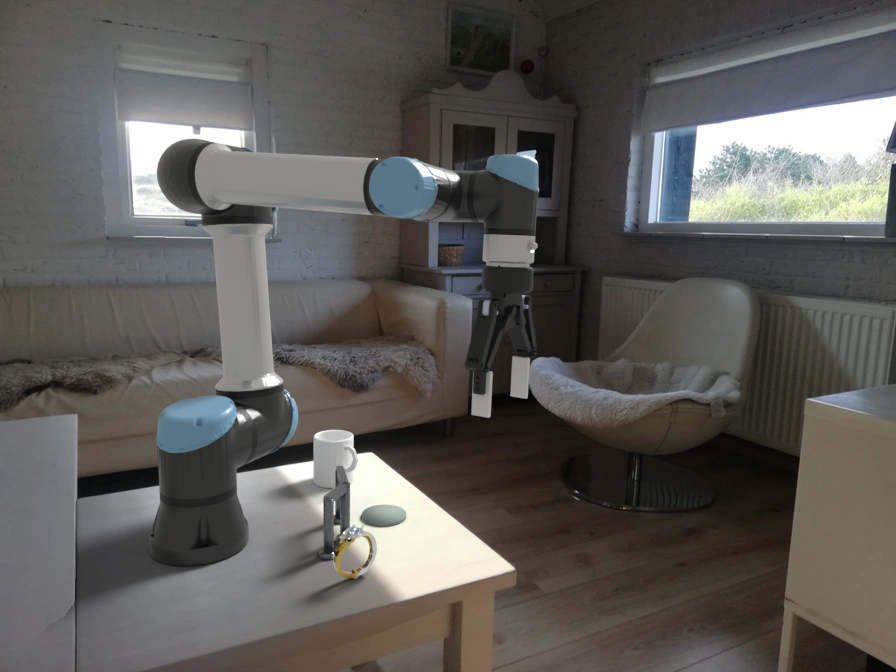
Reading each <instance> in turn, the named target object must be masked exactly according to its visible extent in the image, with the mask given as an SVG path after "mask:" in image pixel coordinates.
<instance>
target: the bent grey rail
mask: <svg viewBox="0 0 896 672" xmlns="http://www.w3.org/2000/svg"><path fill="white" fill-rule="evenodd" d="M322 503H323V507H322V509H323V510H322V511H323V513H322V514H323V515H322V516H323V517H322V518H323V520H322V521H323V525H322V527H323V534H322V535H323V543H322V544H323V546H322V547H323V548H321V549H320V550H318V558H320V559H321V560H324V559H325V560H326V561H329V560H333V552H334V548H335V545H334V544H336V543H337V541H338V539H339V537H340V536H341V534H342V533H343V532H344V531H345V530H346V529H348V528H349V527H350V526H351V484H350V483H349V482H348V479H347V476H346V473H345V470H344V467H343V466H336V470H335V488H332V489H331V490H330V491H328V492H327V493H325V494H324V495H323V502H322ZM334 525H339V534H338V535H336V536H335V535H334V533H335V531H334V528H335V527H334ZM334 538H335V540H334ZM348 539H350V537H349V538H347V539H346V538H345V539H344V541H343V543H344V542H346V541H347V540H348ZM334 541H335V543H334ZM343 543H342V544H343ZM327 559H328V560H327Z"/></svg>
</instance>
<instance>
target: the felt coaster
mask: <svg viewBox="0 0 896 672" xmlns="http://www.w3.org/2000/svg"><path fill="white" fill-rule="evenodd" d="M361 518H362V521H364V523H366V524H369V525H371V526H376V527H391V526H396V525H399V524H401V523H403V522H404V521H405V520H406V519H407V511H406V510H405V509H404V508H403V507H401V506H397V505H394V504H393V505H392V504H377V505H372V506H369V507H366V508H365V509H363V511H362V512H361Z"/></svg>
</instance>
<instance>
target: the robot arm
mask: <svg viewBox="0 0 896 672" xmlns="http://www.w3.org/2000/svg"><path fill="white" fill-rule="evenodd" d="M156 179H157V183H158V186H159V188H160V190H161V193H162V194H163V196H164V197H165V198H166V199H167V201H169V202H170V204H172V205H173V206H174V207H177V208H178V209H179V210H182V211H183V212H187V213H190V214H195V215H200V216H201V227H202V228H201V229H202V230H204V231H205V232H206V233H207V234H208V235H209V236H210V237H211V238H212V247H213V259H214V270H215V271H214V273H215V285H216V294H217V297H216V299H217V307H218V308H217V310H218V320H219V321H218V323H219V333H220V334H219V336H220V347H221V357H222V358H221V360H222V370H223V371H222V372H223V376H222V378H221V379H220V380H219V381H218V382H217V383H216V384H215V394H210V395H209V394H208V395H200V396H199V395H198V396H197V397H188V398H184V399H181V400H179V401H176V402H172V404H169V405H168V406H166V407H165V408H164V409H163V410H162V411H161V412H160V414H159V416H158V419H157V432H156V437H155V441H156V447H157V465H158V483H159V485H158V488H159V504H158V508H157V511H156V514H155V517H154V521H153V523H152V524H153V526H152V529H151V531H150V534H149V538H148V541H149V543H148V545H149V548H148V549H149V554H150V556H151V557H152V558H153V559H154V560H155V561H157V562H160V563H163V564H166V565H171V566H180V567H181V566H182V567H183V566H184V567H185V566H186V567H188V566H189V567H191V566H201V565H206V564H212V563H216V562H220V561H221V560H225V559H227V558H229V557H232V556H233V555H236V554H237V553H239V552H241V551H242V550H243V549H244V548H245V547H246V546H247V545H248V543H249V540H250V530H249V529H250V528H249V527H250V525H249V522H248V520H247V518H246V517H245V513H244V512H243V511H244V510H243V508H242V505H241V502H240V499H239V496H238V483H237V482H238V479H237V477H238V475H237V474H238V473H237V470H238V469H239V468H241V467H243V466H245V465H247V464H250V463H251V462H253V461H255V460H258V459H260V458H262V457H265V456H267V455H271V454H273V453H275V452H276V451H278V450H279V449H280V448H281V447H283V446H285V445H286V444H287V443H288V442H289V441H290V440H291V439H292V437H293V436H294V434H295V433H296V431H297V427H298V424H299V423H298V422H299V411H298V410H299V409H298V405H297V403H296V400H295V399H294V398H293V397H291V393H290V392H289V391H288V390H287V389H285V385H284V379H283V378H282V377H281V376H280V375H278V374H277V373H276V372H275V367H274V353H273V341H272V340H273V339H272V337H273V336H272V325H271V312H270V311H271V310H270V309H271V308H270V296H269V295H270V294H269V293H270V292H269V282H268V281H269V280H268V279H269V278H268V268H267V254H266V253H267V251H266V238H265V237H266V236H267V234H268V233H269V232H270V230H272V229H273V227H274V224H273V214H274V213H276V212H277V211H278V209H291V210H292V209H293V210H304V211H316V212H329V213H339V214H340V213H341V214H342V213H343V214H354V215H356V214H357V215H364V216H365V215H366V216H378V217H386V218H394V219H402V220H415V221H419V222H421V221H422V222H425V223H438V222H439V223H477V224H478V223H480V224H481V223H483V225H484V226H483V227H484V229H483V243H482V261H483V262H486V263H485V265H484V266H483V267H482V268H481V269H482V271H481V289H482V290H483V291H485V292H489V294H490V296H489V300H488V299H487V300H486V299H479V301H478V303H477V304H478V305H477V306H478V307H477V314H476V315H477V316H476V320H475V322H474V328H473V331H472V334H471V339H470V341H469V342H470V343H469V346H468V349H467V353H466V358H465V361H464V367H465V369H466V370H468V371H472V391H471V392H472V393H471V410H470V411H471V416H477V417H482V418H488V419H489V418H491V416H492V415H491V414H492V396H493V393H492V392H493V376H494V372H493V371H490V369H491V367H492V364H493V362H494V359H495V356H496V354H497V351H498V348H499V345H500V343H501V341H502V338H503V335H505V334H506V333H508V337H509V338H510V341H511V346H512V349H513V350H514V354H515V355H513V356H512V359H511V376H510V378H511V379H510V394H509V396H510V397H512V398H519V399H524V400H525V399H526V400H527V399H528V398H529V397H528V396H529V382H530V366H531V365H530V363H531V358H536V357H537V347H538V346H537V341H536V333H535V327H534V326H535V325H534V319H533V311H532V296H531V295H526V294H529V293H531V292H532V291H533V289H534V275H535V274H534V273H535V272H534V268H533V267H532V266H530V264H533V263H534V262H535V250H537V249H538V247H539V246H538V243H537V242H536V229H537V228H536V227H537V214H538V202H539V201H538V200H539V192H540V188H539V163H538V161H537V160H536V159H535V158H534V157H531V156H528V155H522V154H499V155H498V154H497V155H495V154H493V155H491V156H489V157H488V159H487V162H486V166H485V169H480V170H455V169H454V170H453V169H452V170H451V169H446V168H444V167H439V166H435V165H433V164H429V163H426V162H423V161H421V160H419V159H417V158H414V157H409V156H391V157H388V158H377V157H375V158H374V157H360V156H359V157H358V156H357V157H356V156H338V155H337V156H336V155H319V154H317V155H316V154H299V153H298V154H297V153H279V152H278V153H275V152H259V151H255V150H252V149H250V148H247V147H243V146H242V147H240V146H234V145H229V144H224V143H217V142H213V141H209V140H206V139H201V138H186V139H181V140H178V141H176V142H174V143H172V144H170V145H169V146H168V147H167V148H166V149H165V150H164V151H163V152H162V154H161V155H160V158H159V160H158V162H157V168H156Z"/></svg>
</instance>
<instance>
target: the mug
mask: <svg viewBox="0 0 896 672" xmlns="http://www.w3.org/2000/svg"><path fill="white" fill-rule="evenodd" d="M354 438H355V437H354V434H353V433H352V432H350V431H347V430H342V429H329V430H328V429H327V430H323V431H319V432H316V433H315V434H314V435H313V484H314V485H316V486H317V487H320V488H324V489H334V488H335V470H336V466H343V467H344V470H345V473H346V476H347V479H348V482H349V483H350V485H351V484H352V483H353V482H354V471H355V470H356V467H357V464H358V462H359V461H358V460H359V457H358V453H357V451H356V449H355V448H354V444H355V443H354V441H355V440H354Z"/></svg>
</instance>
